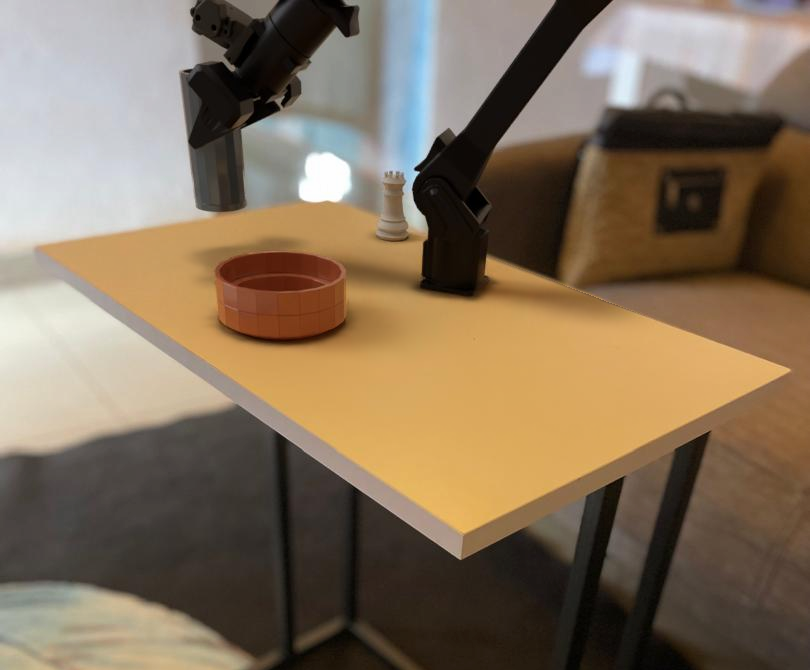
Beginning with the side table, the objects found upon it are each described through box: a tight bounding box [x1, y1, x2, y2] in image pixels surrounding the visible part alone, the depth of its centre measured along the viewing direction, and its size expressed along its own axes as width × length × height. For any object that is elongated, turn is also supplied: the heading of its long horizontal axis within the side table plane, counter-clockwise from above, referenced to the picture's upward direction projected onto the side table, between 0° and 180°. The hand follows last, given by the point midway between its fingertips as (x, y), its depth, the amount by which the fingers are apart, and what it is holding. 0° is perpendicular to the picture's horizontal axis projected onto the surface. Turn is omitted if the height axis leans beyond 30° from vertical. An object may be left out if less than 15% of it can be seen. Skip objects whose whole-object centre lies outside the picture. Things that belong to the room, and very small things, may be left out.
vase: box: [178, 67, 248, 213], centre depth 95 cm, size 6×6×14 cm
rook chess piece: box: [375, 170, 410, 242], centre depth 110 cm, size 4×4×8 cm
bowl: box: [213, 250, 348, 341], centre depth 85 cm, size 13×13×5 cm
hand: (204, 140), depth 95 cm, fingers closed on vase, 6 cm apart
